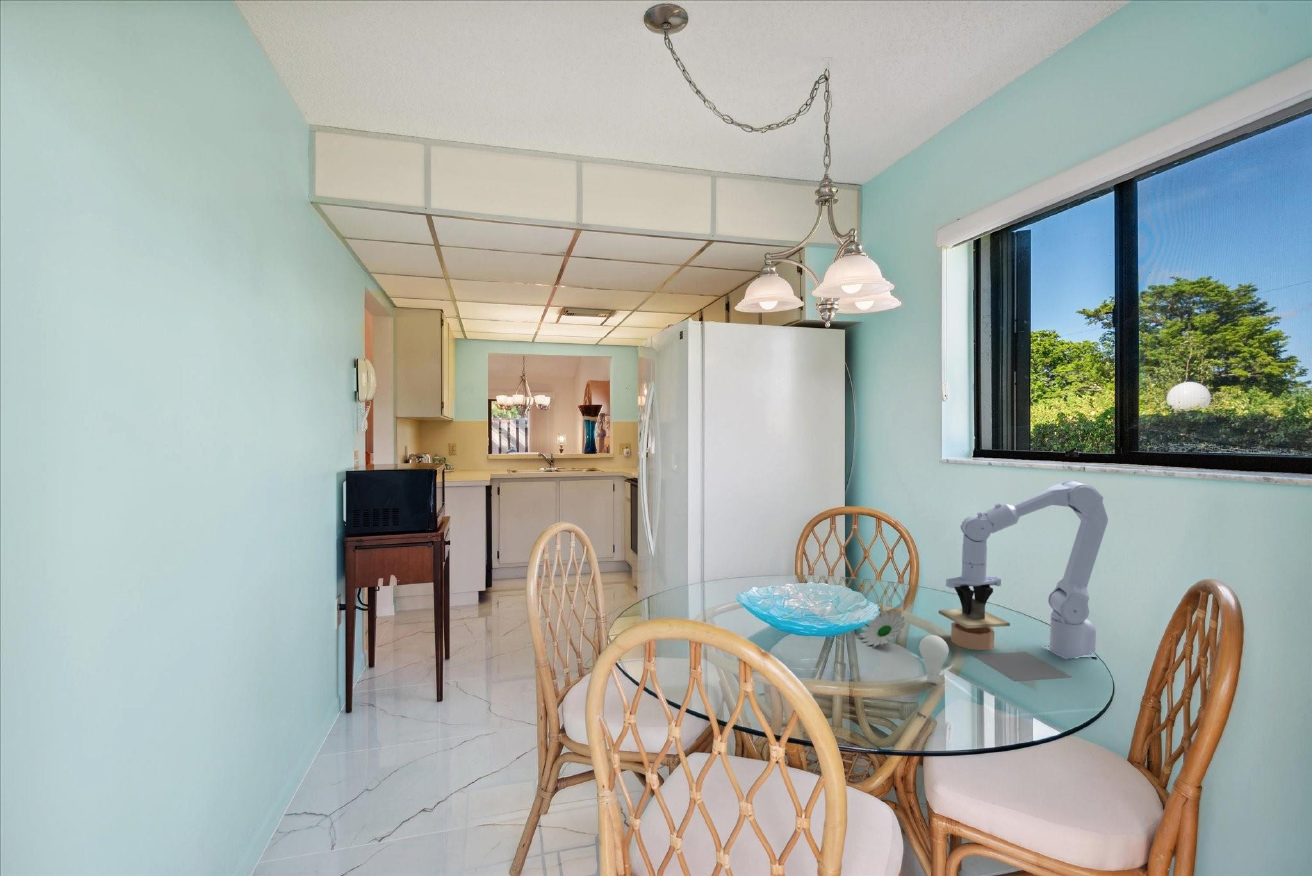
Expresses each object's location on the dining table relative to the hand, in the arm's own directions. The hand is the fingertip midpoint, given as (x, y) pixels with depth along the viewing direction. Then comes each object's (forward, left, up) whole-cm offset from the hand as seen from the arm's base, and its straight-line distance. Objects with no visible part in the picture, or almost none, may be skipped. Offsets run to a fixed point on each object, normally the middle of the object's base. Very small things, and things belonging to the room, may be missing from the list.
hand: (972, 613), depth 162 cm
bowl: (0, 0, -8) cm, 8 cm away
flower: (+21, -13, -9) cm, 26 cm away
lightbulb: (+24, +20, -9) cm, 32 cm away
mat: (-2, +15, -8) cm, 17 cm away
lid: (0, 0, -2) cm, 2 cm away
